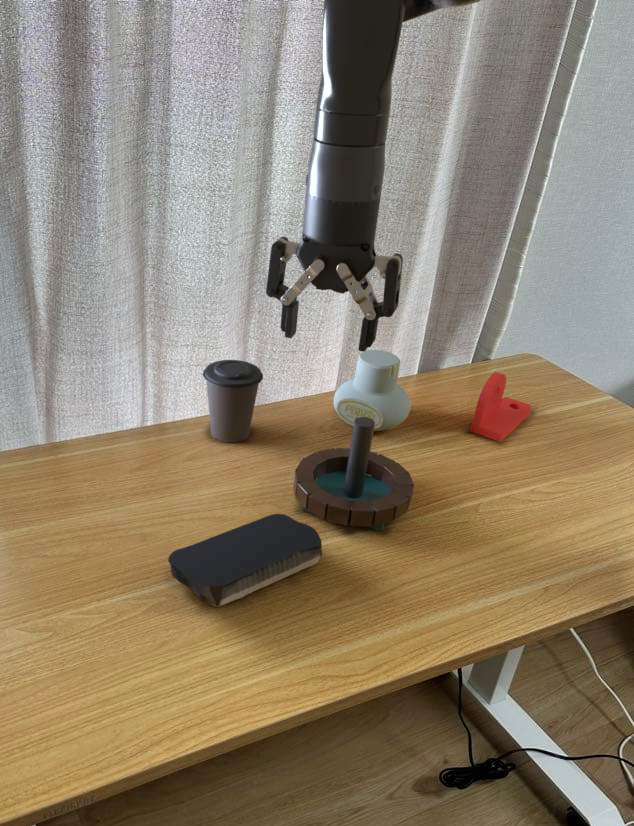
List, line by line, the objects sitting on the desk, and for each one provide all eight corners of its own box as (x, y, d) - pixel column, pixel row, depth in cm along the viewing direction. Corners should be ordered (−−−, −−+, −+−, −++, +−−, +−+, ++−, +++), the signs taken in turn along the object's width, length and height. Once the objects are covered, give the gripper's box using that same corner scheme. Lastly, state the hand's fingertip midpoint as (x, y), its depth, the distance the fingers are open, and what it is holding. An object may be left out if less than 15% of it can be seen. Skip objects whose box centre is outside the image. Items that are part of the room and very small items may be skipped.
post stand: (399, 489, 103) (415, 412, 96) (382, 531, 96) (397, 451, 89) (324, 471, 106) (335, 395, 99) (301, 510, 98) (311, 431, 92)
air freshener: (322, 421, 117) (330, 356, 111) (347, 400, 122) (357, 338, 116) (391, 444, 112) (404, 378, 106) (414, 422, 118) (427, 358, 112)
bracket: (499, 441, 114) (514, 391, 110) (470, 431, 116) (483, 380, 112) (532, 412, 122) (546, 364, 117) (503, 403, 124) (517, 355, 119)
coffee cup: (241, 453, 108) (245, 385, 102) (190, 436, 112) (191, 369, 106) (269, 429, 114) (274, 363, 108) (219, 413, 117) (222, 349, 111)
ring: (419, 477, 104) (423, 463, 102) (396, 538, 93) (400, 523, 91) (312, 452, 108) (314, 438, 106) (278, 508, 97) (280, 493, 95)
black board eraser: (207, 621, 82) (208, 593, 79) (162, 576, 87) (162, 549, 85) (327, 567, 90) (332, 540, 87) (280, 529, 95) (283, 503, 93)
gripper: (421, 190, 82) (395, 341, 91) (288, 173, 86) (277, 320, 95) (406, 207, 76) (380, 366, 86) (264, 188, 80) (255, 342, 90)
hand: (326, 342), depth 91 cm, fingers open, 8 cm apart
